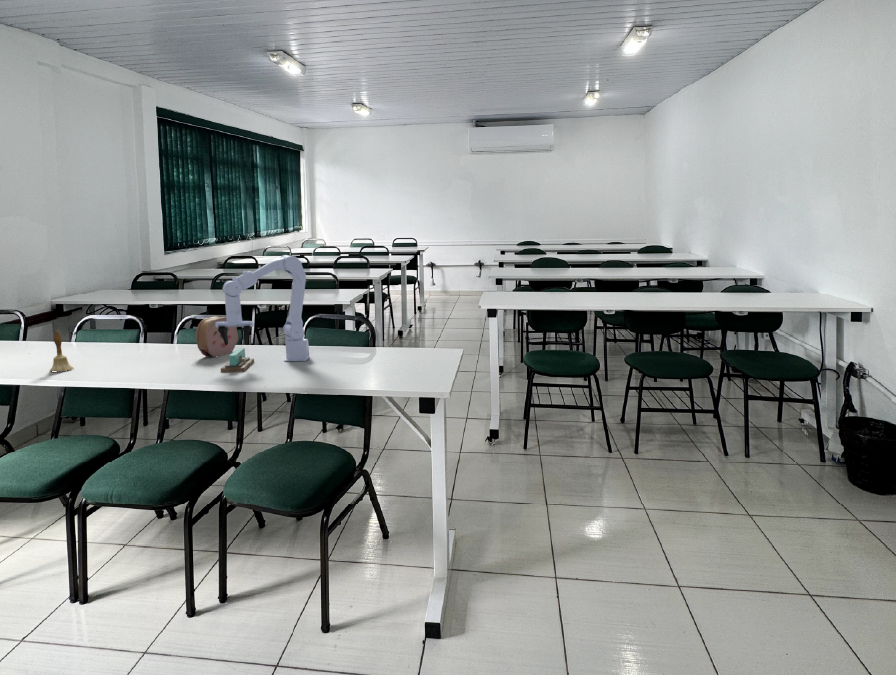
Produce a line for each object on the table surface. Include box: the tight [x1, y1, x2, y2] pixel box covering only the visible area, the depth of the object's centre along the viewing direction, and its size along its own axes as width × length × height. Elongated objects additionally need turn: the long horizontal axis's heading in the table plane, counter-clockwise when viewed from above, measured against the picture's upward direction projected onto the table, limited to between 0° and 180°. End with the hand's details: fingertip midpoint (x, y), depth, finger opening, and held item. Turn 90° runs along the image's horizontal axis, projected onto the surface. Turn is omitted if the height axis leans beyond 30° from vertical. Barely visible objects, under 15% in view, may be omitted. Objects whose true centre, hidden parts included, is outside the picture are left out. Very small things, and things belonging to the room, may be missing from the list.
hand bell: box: [49, 330, 74, 372], centre depth 238 cm, size 8×8×16 cm
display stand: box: [220, 356, 255, 373], centre depth 242 cm, size 16×9×4 cm, turn 4°
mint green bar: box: [228, 347, 246, 365], centre depth 241 cm, size 14×2×4 cm, turn 4°
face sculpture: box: [195, 315, 239, 358], centre depth 264 cm, size 20×7×17 cm, turn 160°
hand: (236, 344), depth 240 cm, fingers open, 7 cm apart
